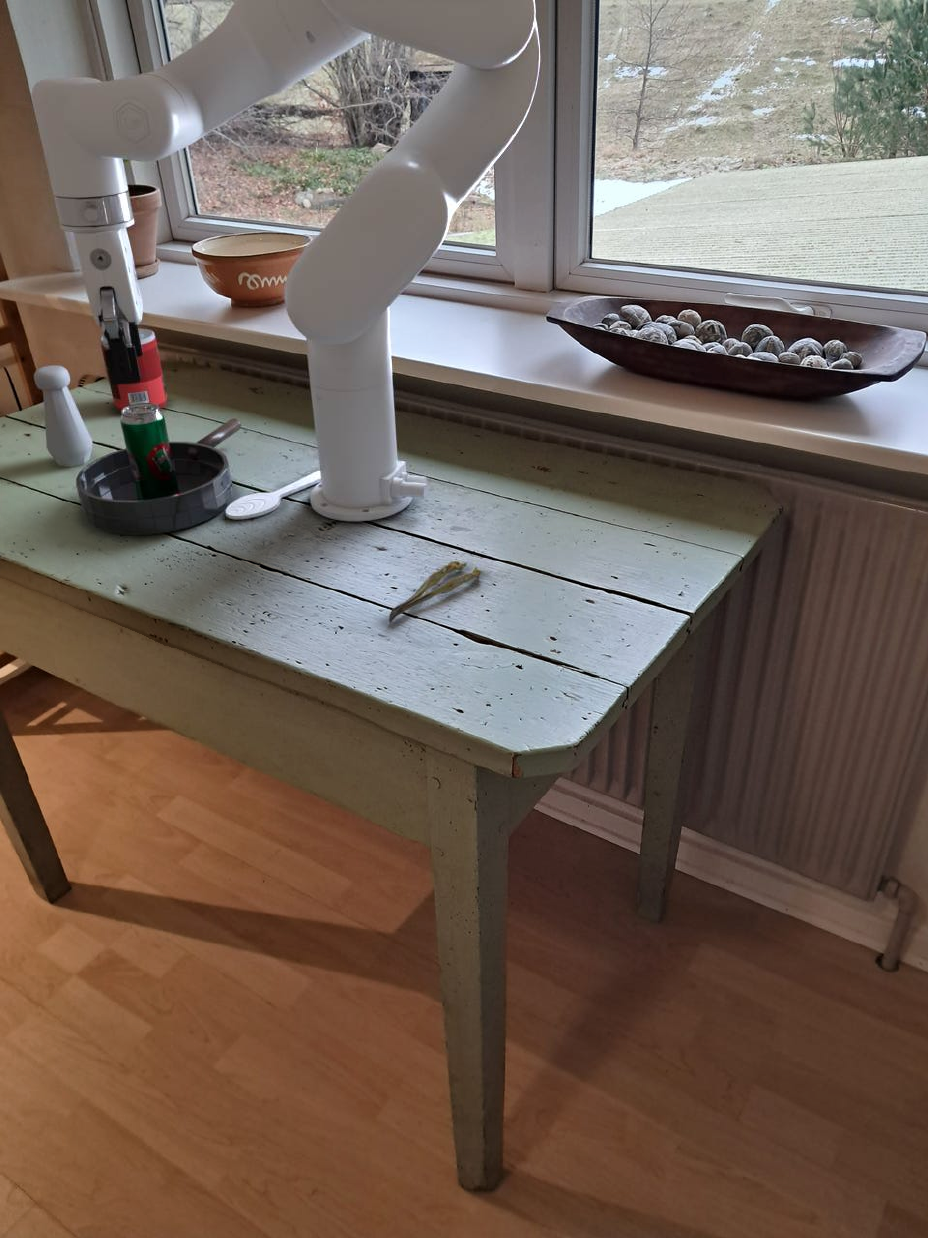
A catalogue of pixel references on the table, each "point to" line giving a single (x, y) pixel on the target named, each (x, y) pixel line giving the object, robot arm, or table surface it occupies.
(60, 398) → the salt shaker
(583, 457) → the table surface
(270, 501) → the spoon
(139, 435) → the soda can
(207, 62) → the robot arm
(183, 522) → the pan
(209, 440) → the pan handle
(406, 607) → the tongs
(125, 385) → the canned food
